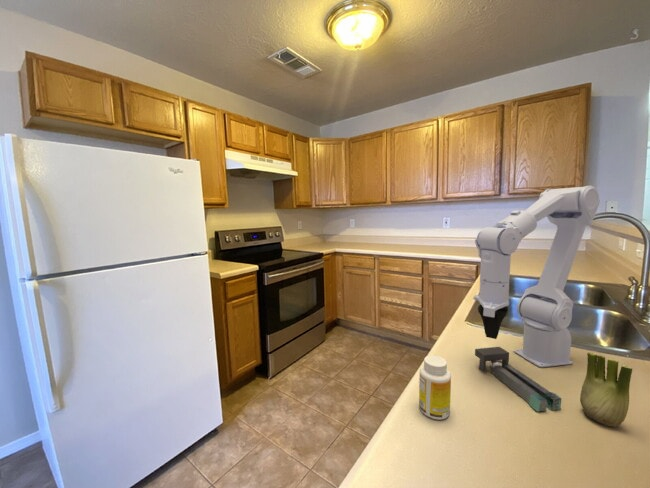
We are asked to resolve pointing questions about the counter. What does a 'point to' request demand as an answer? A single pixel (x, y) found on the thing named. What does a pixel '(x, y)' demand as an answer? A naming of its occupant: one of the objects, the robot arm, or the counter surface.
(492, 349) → the grey stepped block
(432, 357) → the supplement bottle
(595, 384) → the fennel bulb
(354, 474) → the counter surface
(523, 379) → the tongs base
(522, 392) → the bar
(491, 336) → the robot arm
